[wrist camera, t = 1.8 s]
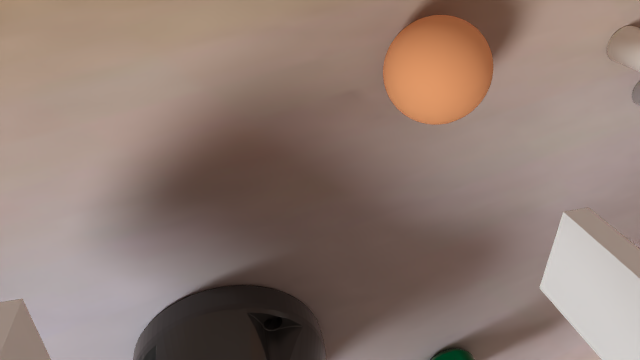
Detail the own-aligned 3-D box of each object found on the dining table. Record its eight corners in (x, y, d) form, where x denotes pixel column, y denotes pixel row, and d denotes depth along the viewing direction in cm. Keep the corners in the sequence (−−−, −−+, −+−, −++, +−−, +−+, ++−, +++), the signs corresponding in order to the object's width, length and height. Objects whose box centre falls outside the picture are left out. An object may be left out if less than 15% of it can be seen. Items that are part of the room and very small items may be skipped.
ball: (464, 84, 31) (515, 122, 26) (378, 112, 31) (414, 156, 26) (457, -9, 28) (515, 14, 23) (361, 22, 28) (398, 53, 23)
